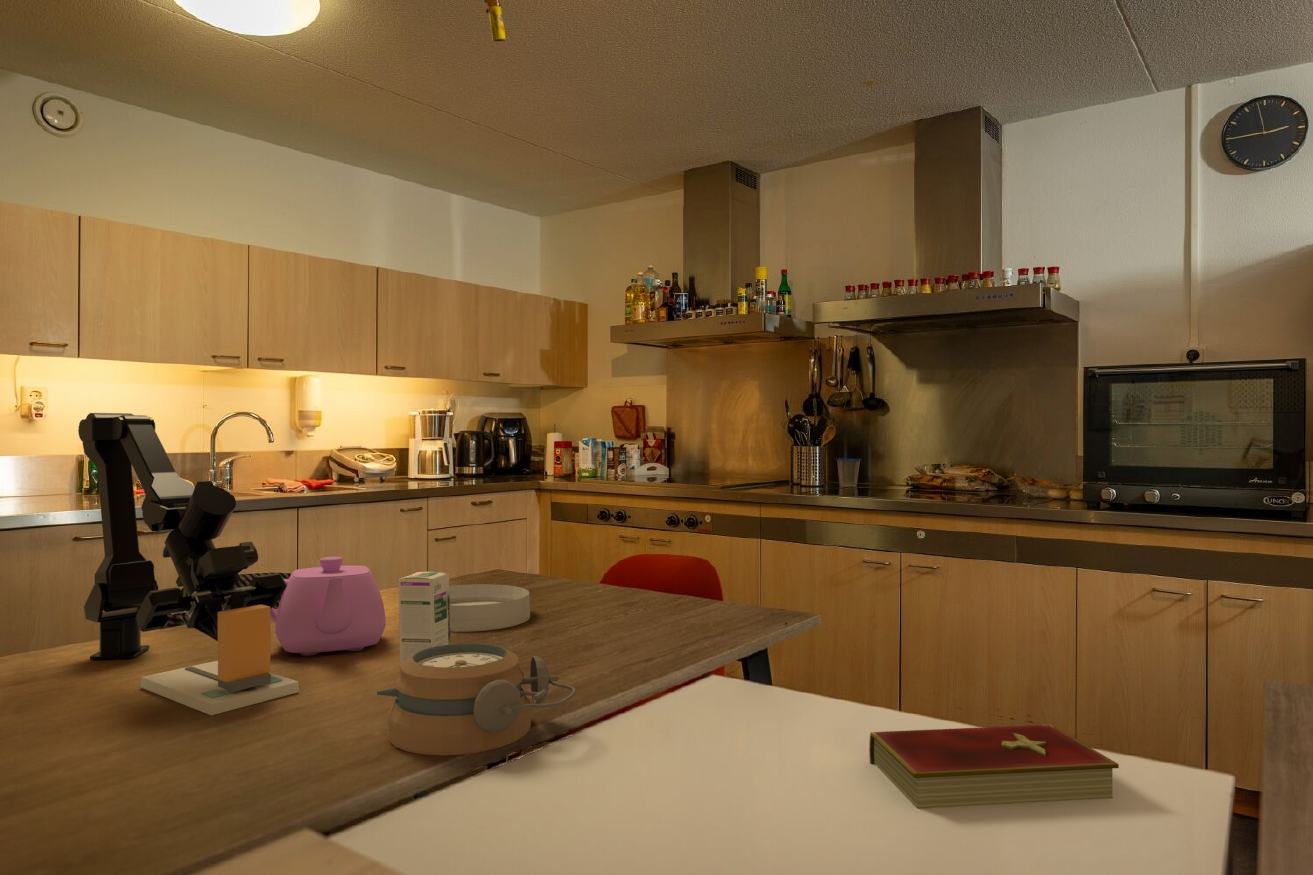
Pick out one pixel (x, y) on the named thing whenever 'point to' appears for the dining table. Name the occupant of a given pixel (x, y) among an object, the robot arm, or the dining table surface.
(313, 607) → the teapot
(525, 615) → the dish
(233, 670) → the fader
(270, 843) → the dining table surface
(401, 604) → the syrup box
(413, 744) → the alarm clock
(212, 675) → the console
